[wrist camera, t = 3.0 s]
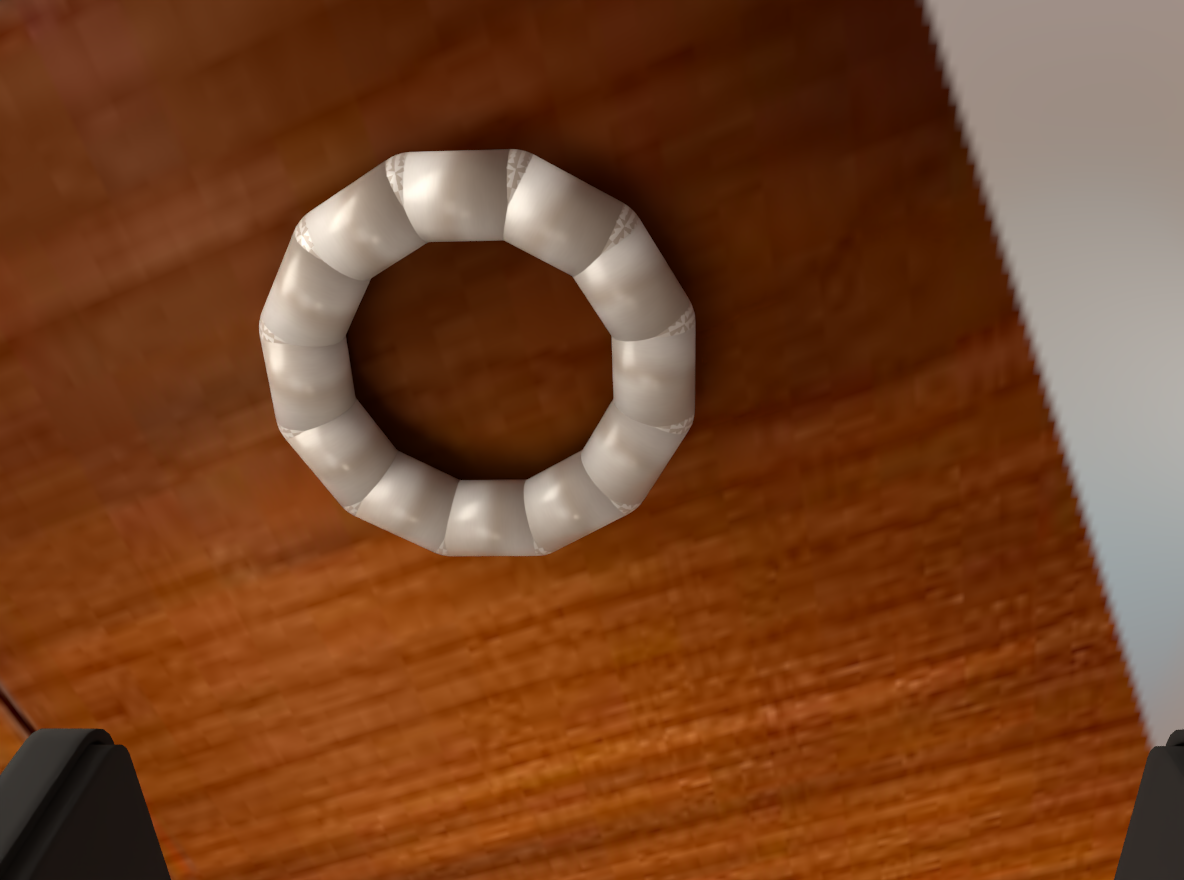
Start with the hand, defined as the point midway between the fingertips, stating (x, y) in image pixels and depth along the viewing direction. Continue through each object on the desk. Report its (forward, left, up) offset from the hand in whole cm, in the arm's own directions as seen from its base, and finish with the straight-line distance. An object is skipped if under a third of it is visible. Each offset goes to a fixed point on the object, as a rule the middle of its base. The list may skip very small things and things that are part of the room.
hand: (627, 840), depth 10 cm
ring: (+3, 0, -12) cm, 12 cm away
